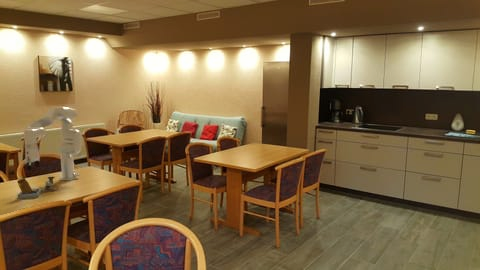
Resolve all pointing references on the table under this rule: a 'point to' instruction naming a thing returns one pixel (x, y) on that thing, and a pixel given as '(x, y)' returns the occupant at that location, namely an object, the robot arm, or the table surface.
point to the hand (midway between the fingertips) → (33, 168)
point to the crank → (49, 182)
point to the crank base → (49, 189)
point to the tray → (33, 195)
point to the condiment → (25, 186)
